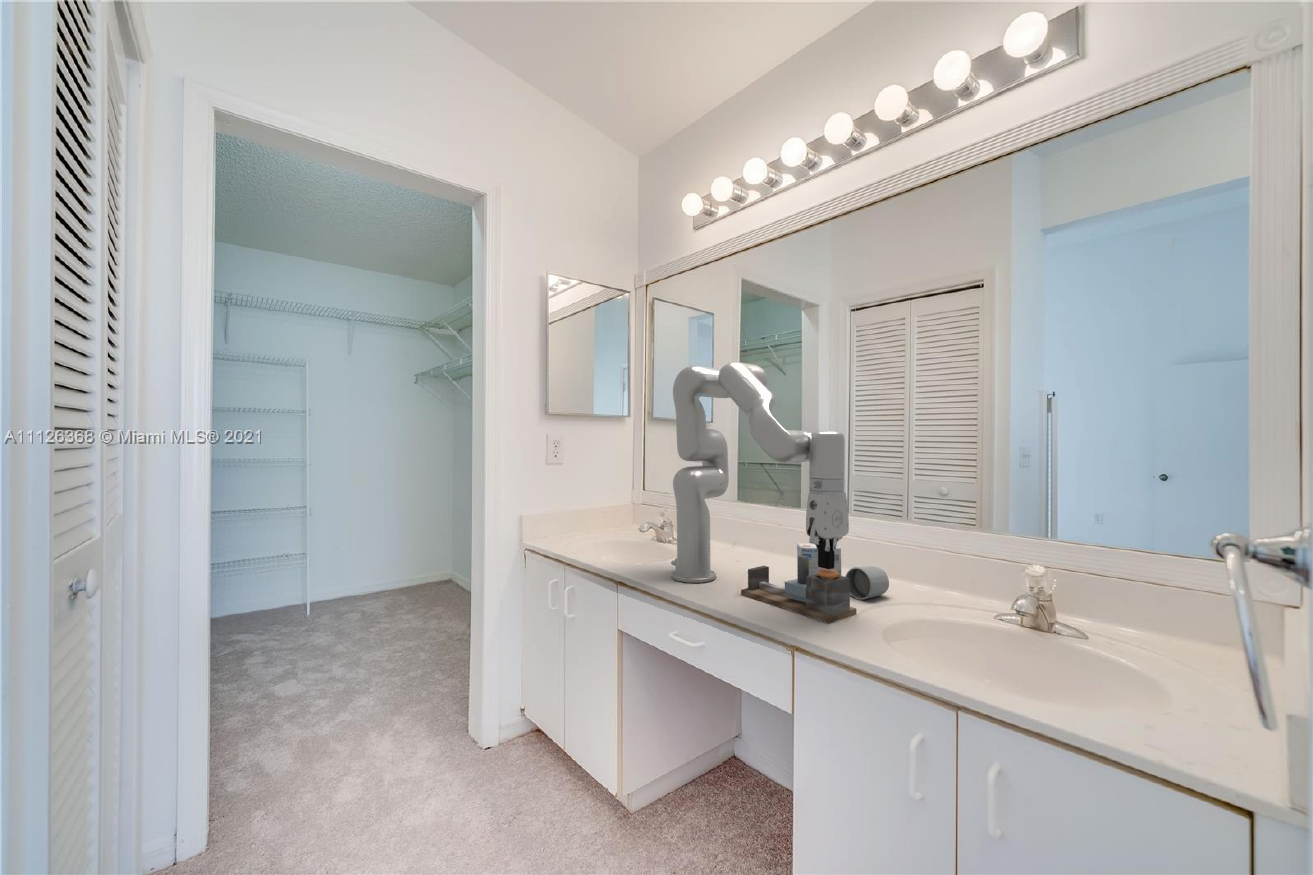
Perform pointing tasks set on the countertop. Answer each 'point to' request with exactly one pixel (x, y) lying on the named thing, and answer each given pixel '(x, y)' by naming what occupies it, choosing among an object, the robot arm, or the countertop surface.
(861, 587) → the ceramic mug
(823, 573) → the button
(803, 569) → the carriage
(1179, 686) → the countertop surface
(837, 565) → the light bulb box
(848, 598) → the rail board
